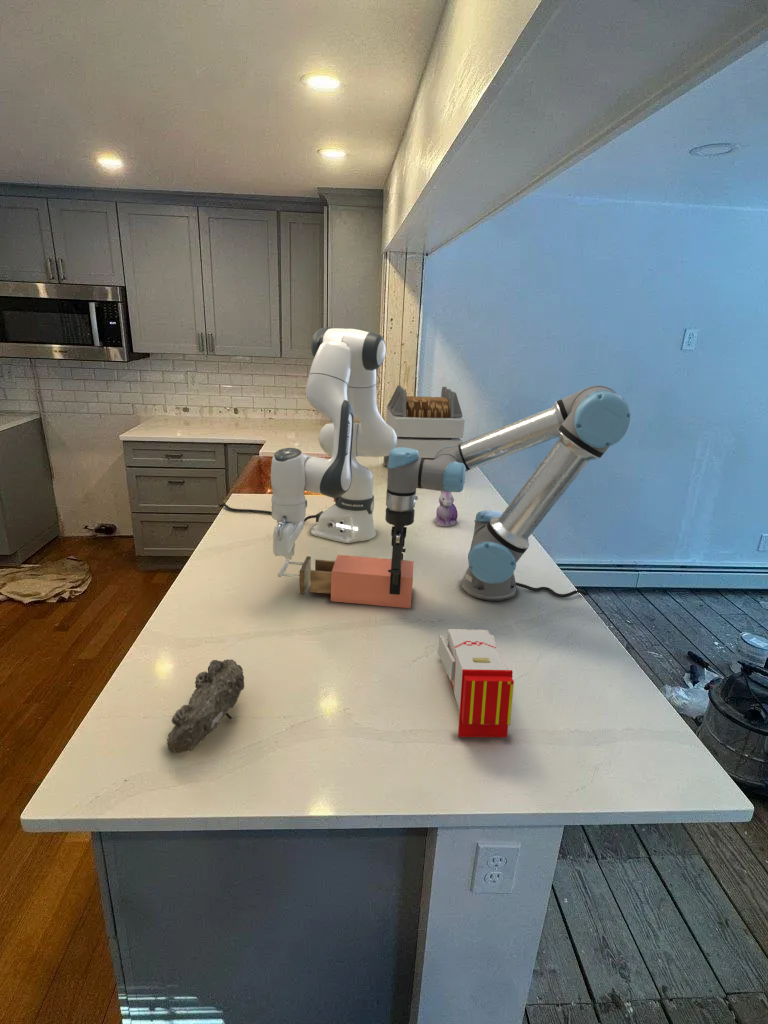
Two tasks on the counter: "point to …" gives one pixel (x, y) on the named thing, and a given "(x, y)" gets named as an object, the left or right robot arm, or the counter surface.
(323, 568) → the drawer
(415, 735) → the counter surface
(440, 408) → the transformer
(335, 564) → the tall pink open box
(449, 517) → the figurine
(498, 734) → the toy
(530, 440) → the right robot arm
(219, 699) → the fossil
